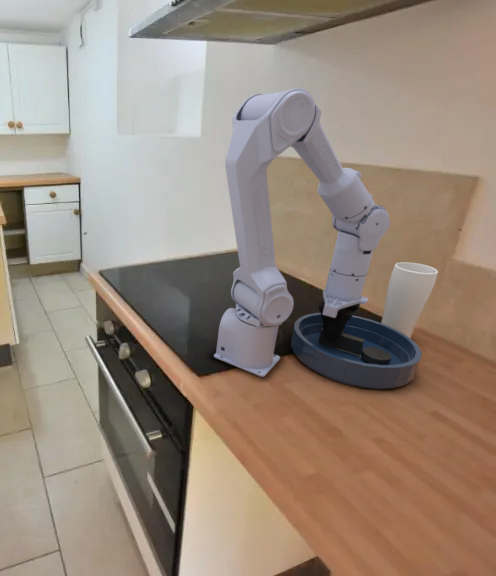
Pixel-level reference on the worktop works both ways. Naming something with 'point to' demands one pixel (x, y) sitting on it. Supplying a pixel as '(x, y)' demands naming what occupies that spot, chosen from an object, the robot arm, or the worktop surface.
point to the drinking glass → (407, 295)
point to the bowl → (351, 365)
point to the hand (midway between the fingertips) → (331, 337)
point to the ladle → (358, 348)
